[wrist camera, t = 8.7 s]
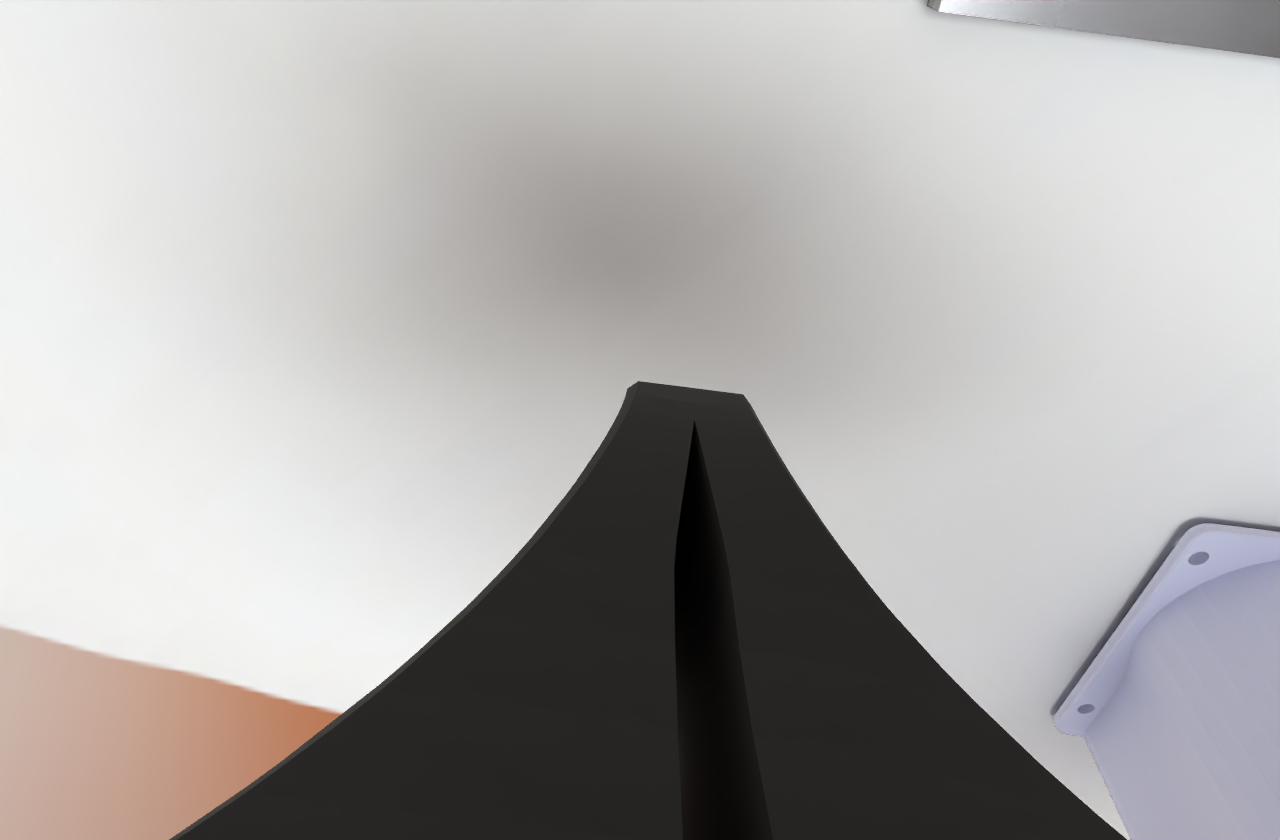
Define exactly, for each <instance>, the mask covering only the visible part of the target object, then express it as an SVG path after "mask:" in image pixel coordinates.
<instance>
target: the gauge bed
mask: <svg viewBox="0 0 1280 840" xmlns="http://www.w3.org/2000/svg"><path fill="white" fill-rule="evenodd" d="M928 6H929V7H931V8H932V9H934V10H936V11H938V12H945V13H952V14H960V15H967V16H974V17H982V18H989V19H997V20H1004V21H1011V22H1019V23H1026V24H1034V25H1041V26H1048V27H1056V28H1063V29H1070V30H1078V31H1085V32H1093V33H1100V34H1107V35H1115V36H1122V37H1129V38H1137V39H1144V40H1152V41H1159V42H1166V43H1174V44H1181V45H1189V46H1196V47H1203V48H1211V49H1218V50H1225V51H1233V52H1240V53H1248V54H1255V55H1262V56H1270V57H1277V58H1280V0H929V2H928Z"/></svg>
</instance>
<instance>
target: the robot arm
mask: <svg viewBox="0 0 1280 840" xmlns="http://www.w3.org/2000/svg"><path fill="white" fill-rule="evenodd" d="M1194 553H1195V554H1194ZM1053 721H1054V723H1055V726H1056V728H1057V730H1058V731H1059V732H1061V733H1064V734H1068V735H1077V736H1084V738H1085V740H1086V742H1087V745H1088V747H1089V749H1090V751H1091V753H1092V756H1093V758H1094V760H1095V762H1096V764H1097V767H1098V769H1099V771H1100V773H1101V775H1102V778H1103V780H1104V782H1105V784H1106V786H1107V789H1108V791H1109V793H1110V795H1111V797H1112V800H1113V802H1114V804H1115V806H1116V808H1117V810H1118V813H1119V815H1120V817H1121V819H1122V821H1123V824H1124V826H1125V828H1126V830H1127V832H1128V835H1129V837H1130V839H1131V840H1280V532H1276V531H1269V530H1261V529H1253V528H1245V527H1237V526H1229V525H1221V524H1213V523H1203V524H1199V525H1195V526H1194V527H1192V528H1190V529H1188V530H1187V531H1186V532H1185V533H1184V535H1183V536H1182V538H1181V539H1180V540H1179V542H1178V543H1177V545H1176V546H1175V547H1174V549H1173V550H1172V552H1171V553H1170V554H1169V556H1168V557H1167V559H1166V560H1165V561H1164V563H1163V564H1162V566H1161V567H1160V568H1159V570H1158V571H1157V572H1156V574H1155V575H1154V577H1153V578H1152V579H1151V581H1150V582H1149V584H1148V585H1147V586H1146V588H1145V589H1144V591H1143V592H1142V593H1141V595H1140V596H1139V598H1138V599H1137V600H1136V602H1135V603H1134V605H1133V606H1132V607H1131V609H1130V610H1129V612H1128V613H1127V614H1126V616H1125V617H1124V619H1123V620H1122V621H1121V623H1120V624H1119V626H1118V627H1117V628H1116V630H1115V631H1114V633H1113V634H1112V635H1111V637H1110V638H1109V640H1108V641H1107V642H1106V644H1105V645H1104V647H1103V648H1102V649H1101V651H1100V652H1099V654H1098V655H1097V656H1096V658H1095V659H1094V661H1093V662H1092V663H1091V665H1090V666H1089V668H1088V669H1087V670H1086V672H1085V673H1084V675H1083V676H1082V677H1081V679H1080V680H1079V682H1078V683H1077V684H1076V686H1075V687H1074V689H1073V690H1072V691H1071V693H1070V694H1069V696H1068V697H1067V698H1066V700H1065V701H1064V703H1063V704H1062V705H1061V707H1060V708H1059V710H1058V711H1057V712H1056V714H1055V715H1054V718H1053ZM170 840H1127V839H1126V838H1124V837H1123V836H1122V835H1121V834H1120V833H1118V832H1117V831H1116V830H1115V829H1114V828H1112V827H1111V826H1110V825H1109V824H1108V823H1107V822H1105V821H1104V820H1103V819H1102V818H1101V817H1099V816H1098V815H1097V814H1096V813H1095V812H1094V811H1092V810H1091V809H1090V808H1089V807H1088V806H1087V805H1086V804H1085V803H1083V802H1082V801H1081V800H1080V799H1079V798H1078V797H1077V796H1076V795H1074V794H1073V793H1072V792H1071V791H1070V790H1069V789H1068V788H1067V787H1065V786H1064V785H1063V784H1062V783H1061V782H1060V781H1059V780H1058V779H1056V778H1055V777H1054V776H1053V775H1052V774H1051V773H1050V772H1049V771H1047V770H1046V769H1045V768H1044V767H1043V766H1042V765H1041V764H1040V763H1039V762H1038V761H1036V760H1035V759H1034V758H1033V757H1032V756H1031V755H1030V754H1029V753H1028V752H1027V751H1026V750H1025V749H1024V748H1023V747H1022V746H1021V745H1020V744H1019V743H1018V742H1017V741H1016V740H1015V739H1013V738H1012V737H1011V736H1010V735H1009V734H1008V733H1007V732H1006V731H1005V730H1004V729H1003V728H1002V727H1001V726H1000V725H999V724H998V723H997V722H996V721H995V720H994V719H993V718H992V717H990V716H989V715H988V714H987V713H986V712H985V711H984V710H983V709H982V708H981V707H980V706H979V705H978V704H977V703H976V702H975V701H974V700H973V699H972V698H971V697H970V696H969V695H968V694H967V693H966V692H965V691H964V690H963V689H962V688H961V687H960V686H959V685H958V684H957V683H956V682H955V681H954V680H953V679H952V678H951V677H950V676H949V675H948V674H947V673H946V672H945V671H944V670H943V669H942V668H941V666H940V665H939V664H938V663H937V662H936V661H935V660H934V659H933V658H932V657H931V655H930V654H929V653H928V652H927V651H926V650H925V649H924V648H923V647H922V646H921V644H920V643H919V642H918V641H917V640H916V639H915V638H914V637H913V636H912V634H911V633H910V632H909V631H908V630H907V629H906V628H905V627H904V626H903V625H902V623H901V622H900V621H899V620H898V619H897V618H896V617H895V616H894V615H893V613H892V612H891V611H890V610H889V609H888V608H887V606H886V605H885V604H884V603H883V602H882V600H881V599H880V598H879V597H878V595H877V594H876V593H875V592H874V590H873V589H872V588H871V587H870V585H869V584H868V583H867V582H866V580H865V579H864V578H863V576H862V575H861V574H860V572H859V571H858V570H857V568H856V567H855V566H854V565H853V563H852V562H851V561H850V559H849V558H848V557H847V555H846V554H845V553H844V551H843V550H842V549H841V547H840V546H839V545H838V543H837V542H836V540H835V539H834V538H833V536H832V535H831V533H830V532H829V531H828V529H827V528H826V526H825V525H824V524H823V522H822V521H821V519H820V518H819V516H818V515H817V513H816V512H815V510H814V509H813V507H812V506H811V504H810V503H809V501H808V500H807V498H806V497H805V495H804V494H803V492H802V491H801V489H800V488H799V486H798V485H797V483H796V482H795V480H794V478H793V477H792V475H791V474H790V472H789V470H788V469H787V467H786V466H785V464H784V462H783V461H782V459H781V457H780V456H779V454H778V452H777V451H776V449H775V447H774V446H773V444H772V442H771V440H770V439H769V437H768V435H767V433H766V432H765V430H764V428H763V426H762V425H761V423H760V421H759V419H758V417H757V415H756V414H755V412H754V410H753V408H752V406H751V404H750V403H749V402H748V400H747V399H746V398H745V396H744V395H743V394H735V393H727V392H719V391H711V390H703V389H695V388H688V387H680V386H672V385H664V384H656V383H648V382H640V381H638V382H637V383H635V384H634V385H632V386H631V387H629V388H628V389H627V393H626V397H625V400H624V402H623V404H622V407H621V409H620V411H619V413H618V415H617V417H616V419H615V421H614V423H613V425H612V427H611V428H610V430H609V432H608V433H607V435H606V437H605V439H604V440H603V442H602V444H601V445H600V447H599V448H598V450H597V451H596V453H595V454H594V456H593V457H592V459H591V460H590V462H589V463H588V465H587V466H586V468H585V469H584V470H583V472H582V473H581V475H580V476H579V478H578V479H577V481H576V482H575V484H574V485H573V486H572V488H571V489H570V490H569V492H568V493H567V494H566V496H565V497H564V498H563V499H562V501H561V502H560V503H559V504H558V506H557V507H556V508H555V509H554V511H553V512H552V513H551V514H550V516H549V517H548V518H547V519H546V521H545V522H544V523H543V524H542V526H541V527H540V528H539V529H538V530H537V532H536V533H535V534H534V535H533V537H532V538H531V539H530V540H529V541H528V542H527V544H526V545H525V546H524V547H523V548H522V549H521V550H520V551H519V553H518V554H517V555H516V556H515V557H514V558H513V559H512V560H511V561H510V563H509V564H508V565H507V566H506V567H505V568H504V569H503V570H502V571H501V572H500V573H499V574H498V575H497V576H496V577H495V578H494V579H493V580H492V582H491V583H490V584H489V585H488V586H487V587H486V588H485V589H484V590H483V591H482V592H481V593H480V594H479V595H478V596H477V597H476V598H475V599H474V600H473V601H472V602H471V603H470V604H469V605H468V606H467V607H466V608H465V609H464V610H463V611H461V612H460V613H459V614H458V615H457V616H456V617H455V618H454V619H453V620H452V621H451V622H450V623H448V624H447V625H446V626H445V627H444V628H443V629H442V630H441V631H440V632H439V633H438V634H437V635H435V636H434V637H433V638H432V639H431V640H430V641H429V642H428V643H427V644H426V645H425V646H424V647H423V648H421V649H420V650H419V651H418V652H417V653H416V654H415V655H414V656H412V657H411V658H410V659H409V660H408V661H407V662H406V663H404V664H403V665H402V666H401V667H400V668H399V669H397V670H396V671H395V672H394V673H393V674H392V675H390V676H389V677H388V678H387V679H386V680H384V681H383V682H382V683H381V684H380V685H379V686H377V687H376V688H375V689H373V690H372V691H371V692H370V693H368V694H367V695H366V696H364V697H363V698H362V699H361V700H359V701H358V702H357V703H356V704H354V705H353V706H352V707H350V708H349V709H348V710H347V711H345V712H344V713H343V714H341V715H340V716H339V717H338V718H336V719H335V720H334V721H333V722H331V723H330V724H329V725H327V726H326V727H325V728H324V729H322V730H321V731H320V732H318V733H317V734H316V735H315V736H313V737H312V738H311V739H310V740H308V741H307V742H306V743H304V744H303V745H302V746H301V747H299V748H298V749H297V750H296V751H294V752H293V753H292V754H290V755H289V756H288V757H287V758H285V759H284V760H283V761H281V762H280V763H279V764H277V765H276V766H275V767H273V768H272V769H271V770H269V771H268V772H267V773H265V774H264V775H263V776H261V777H259V778H258V779H257V780H255V781H254V782H253V783H251V784H250V785H249V786H247V787H246V788H244V789H243V790H242V791H240V792H238V793H237V794H235V795H234V796H233V797H231V798H230V799H228V800H227V801H225V802H224V803H222V804H221V805H219V806H218V807H216V808H215V809H213V810H212V811H211V812H209V813H208V814H206V815H205V816H203V817H202V818H200V819H199V820H197V821H196V822H194V823H193V824H192V825H190V826H189V827H187V828H186V829H184V830H183V831H181V832H180V833H178V834H177V835H175V836H174V837H173V838H171V839H170Z"/></svg>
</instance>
